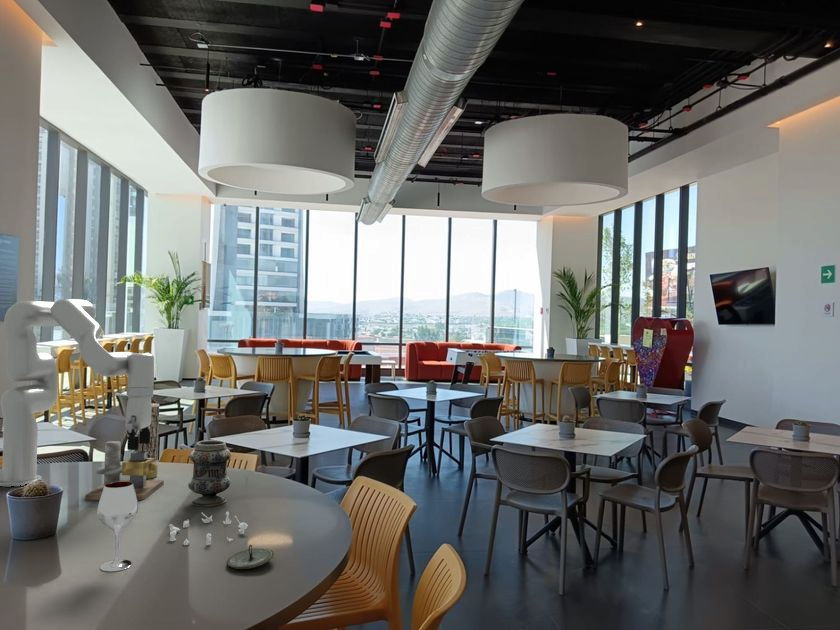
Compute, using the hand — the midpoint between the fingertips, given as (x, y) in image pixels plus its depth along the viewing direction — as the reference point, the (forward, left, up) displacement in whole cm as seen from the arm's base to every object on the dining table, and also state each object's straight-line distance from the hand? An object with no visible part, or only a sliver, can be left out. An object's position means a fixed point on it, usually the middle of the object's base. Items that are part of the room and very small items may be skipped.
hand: (138, 446), depth 200 cm
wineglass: (+18, -61, -14) cm, 65 cm away
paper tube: (-4, +19, -14) cm, 24 cm away
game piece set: (+32, -39, -15) cm, 53 cm away
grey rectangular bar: (0, 0, -13) cm, 13 cm away
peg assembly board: (-4, 0, -14) cm, 15 cm away
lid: (+47, -60, -15) cm, 78 cm away
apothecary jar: (+25, -11, -14) cm, 31 cm away
